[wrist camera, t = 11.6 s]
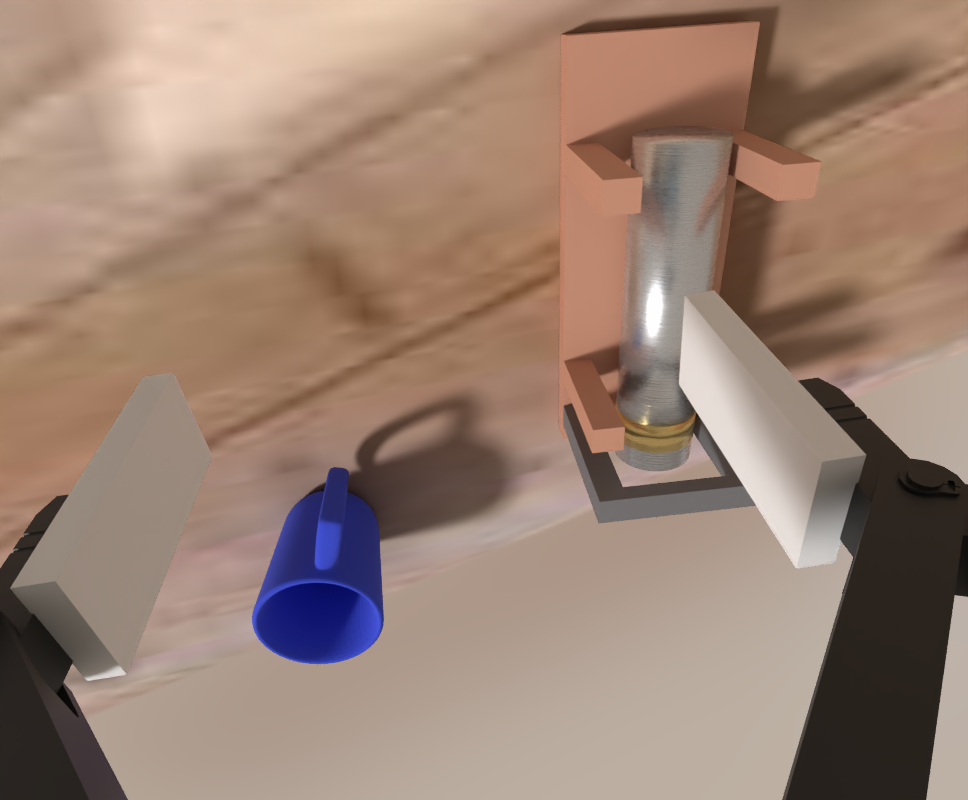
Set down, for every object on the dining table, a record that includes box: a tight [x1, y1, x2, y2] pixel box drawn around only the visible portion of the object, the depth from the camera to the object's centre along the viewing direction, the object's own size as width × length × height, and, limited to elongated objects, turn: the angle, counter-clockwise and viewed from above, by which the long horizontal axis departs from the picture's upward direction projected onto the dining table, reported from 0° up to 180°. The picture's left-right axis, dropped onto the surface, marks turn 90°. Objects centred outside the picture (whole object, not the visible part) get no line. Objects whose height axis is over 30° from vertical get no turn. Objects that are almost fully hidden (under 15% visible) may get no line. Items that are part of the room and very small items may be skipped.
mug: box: [252, 467, 384, 664], centre depth 44 cm, size 8×12×10 cm
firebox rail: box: [559, 21, 822, 523], centre depth 36 cm, size 25×10×12 cm, turn 3°
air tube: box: [615, 126, 734, 471], centre depth 38 cm, size 20×5×5 cm
